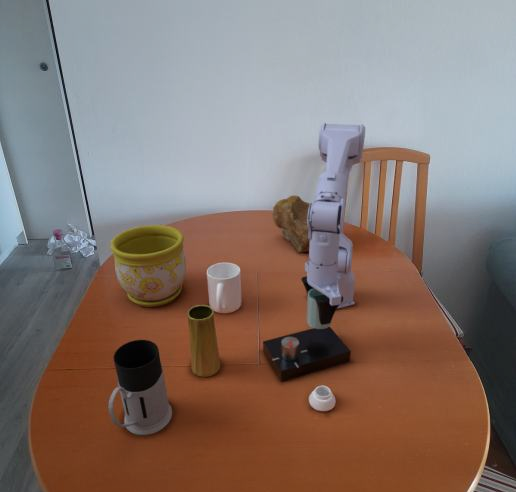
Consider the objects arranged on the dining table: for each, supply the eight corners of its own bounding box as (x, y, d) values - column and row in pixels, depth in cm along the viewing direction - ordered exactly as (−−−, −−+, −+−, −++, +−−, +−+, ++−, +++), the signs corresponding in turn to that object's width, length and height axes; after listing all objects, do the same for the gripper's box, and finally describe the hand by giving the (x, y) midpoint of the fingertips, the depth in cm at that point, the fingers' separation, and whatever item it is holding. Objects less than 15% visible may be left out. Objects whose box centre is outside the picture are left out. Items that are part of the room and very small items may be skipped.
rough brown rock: (273, 259, 137) (274, 216, 129) (271, 232, 151) (272, 192, 142) (348, 260, 137) (354, 217, 129) (339, 233, 151) (345, 193, 143)
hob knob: (280, 350, 94) (280, 335, 92) (297, 349, 94) (297, 334, 92) (282, 361, 91) (282, 347, 89) (299, 360, 91) (300, 346, 89)
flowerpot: (127, 320, 109) (115, 262, 101) (116, 285, 124) (105, 232, 116) (197, 302, 116) (192, 246, 108) (179, 271, 130) (173, 219, 122)
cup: (301, 319, 97) (302, 292, 93) (320, 311, 99) (322, 284, 96) (317, 332, 93) (318, 304, 89) (337, 323, 95) (339, 296, 92)
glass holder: (179, 402, 86) (170, 340, 79) (147, 465, 74) (132, 400, 66) (137, 395, 88) (125, 334, 80) (99, 456, 76) (80, 391, 68)
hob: (327, 334, 103) (327, 323, 102) (350, 362, 95) (352, 351, 93) (261, 352, 98) (261, 341, 97) (280, 383, 90) (280, 372, 88)
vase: (197, 381, 91) (191, 324, 84) (187, 363, 96) (180, 308, 89) (225, 371, 93) (221, 315, 86) (213, 354, 98) (209, 300, 91)
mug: (236, 324, 107) (234, 288, 102) (202, 322, 108) (199, 286, 103) (244, 297, 118) (242, 263, 113) (213, 295, 119) (210, 261, 114)
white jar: (327, 390, 88) (304, 397, 86) (327, 378, 87) (304, 386, 85) (340, 407, 84) (316, 416, 82) (341, 396, 82) (317, 404, 81)
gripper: (358, 273, 83) (352, 332, 90) (327, 241, 96) (324, 294, 102) (323, 279, 82) (319, 338, 88) (296, 245, 94) (295, 299, 101)
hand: (319, 315), depth 95 cm, fingers closed on cup, 5 cm apart
